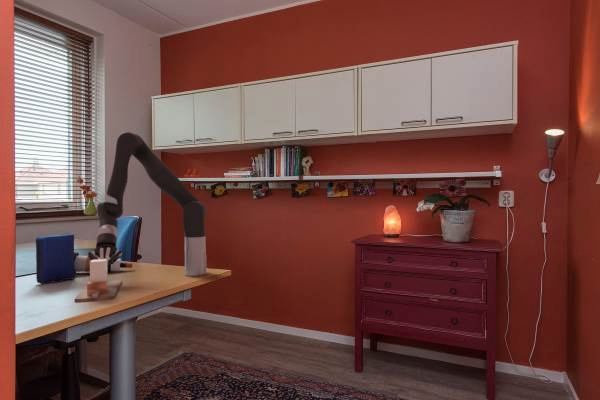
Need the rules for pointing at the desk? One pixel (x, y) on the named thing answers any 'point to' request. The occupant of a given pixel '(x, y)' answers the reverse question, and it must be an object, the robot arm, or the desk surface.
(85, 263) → the grey brown bottle
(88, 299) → the rail board
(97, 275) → the sleeve
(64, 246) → the book
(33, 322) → the desk surface
